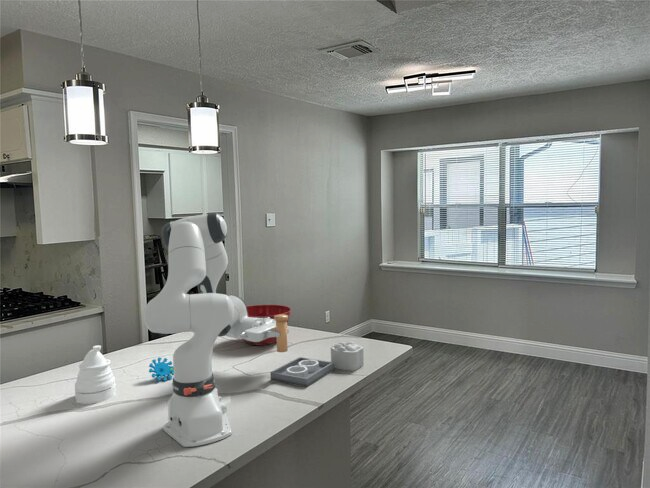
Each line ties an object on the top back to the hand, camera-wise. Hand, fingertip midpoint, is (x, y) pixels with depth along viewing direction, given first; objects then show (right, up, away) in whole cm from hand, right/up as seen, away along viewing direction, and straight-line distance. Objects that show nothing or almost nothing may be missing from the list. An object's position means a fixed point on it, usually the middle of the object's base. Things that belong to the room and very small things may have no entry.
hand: (283, 332), depth 181 cm
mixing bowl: (-14, -13, +50) cm, 53 cm away
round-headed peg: (-1, -7, +1) cm, 7 cm away
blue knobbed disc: (-46, -18, +2) cm, 50 cm away
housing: (+7, -16, +2) cm, 18 cm away
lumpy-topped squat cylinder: (+24, -15, +12) cm, 31 cm away
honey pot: (-64, -20, -14) cm, 69 cm away
